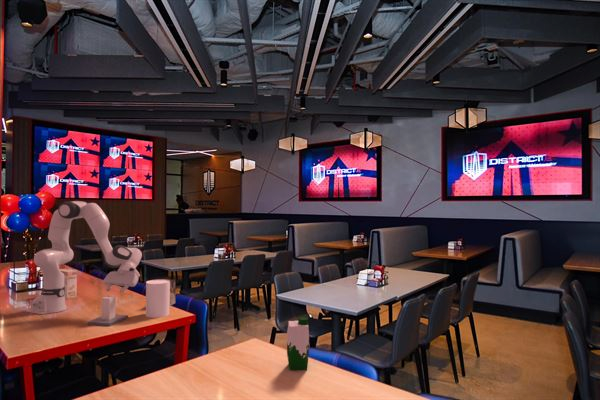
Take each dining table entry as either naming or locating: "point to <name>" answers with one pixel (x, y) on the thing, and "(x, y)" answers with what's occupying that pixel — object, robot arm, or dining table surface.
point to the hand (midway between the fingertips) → (114, 291)
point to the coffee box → (172, 292)
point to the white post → (108, 307)
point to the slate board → (107, 322)
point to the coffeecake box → (70, 283)
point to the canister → (157, 298)
